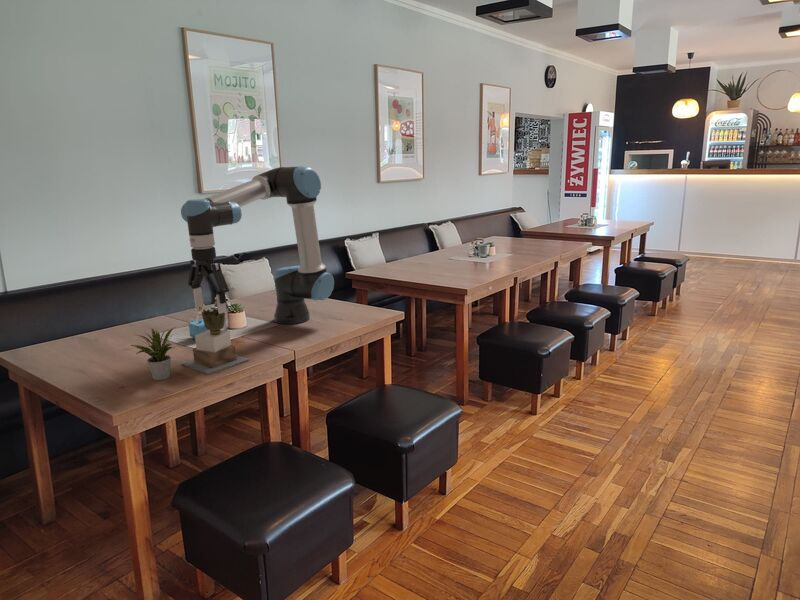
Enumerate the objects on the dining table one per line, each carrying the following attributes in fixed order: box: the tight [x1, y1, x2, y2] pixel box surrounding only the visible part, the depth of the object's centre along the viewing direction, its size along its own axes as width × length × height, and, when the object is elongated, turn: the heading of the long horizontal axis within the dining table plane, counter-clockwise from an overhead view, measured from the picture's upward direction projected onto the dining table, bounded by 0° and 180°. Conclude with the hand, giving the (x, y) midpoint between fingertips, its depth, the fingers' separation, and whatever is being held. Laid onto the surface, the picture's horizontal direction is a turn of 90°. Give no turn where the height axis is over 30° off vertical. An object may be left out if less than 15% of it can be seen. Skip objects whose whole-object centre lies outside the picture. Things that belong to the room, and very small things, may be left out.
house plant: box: [130, 326, 177, 381], centre depth 182 cm, size 14×14×16 cm
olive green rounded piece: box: [201, 308, 226, 335], centre depth 189 cm, size 8×7×8 cm
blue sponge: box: [188, 318, 208, 340], centre depth 221 cm, size 12×6×8 cm, turn 50°
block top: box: [194, 329, 232, 352], centre depth 192 cm, size 8×8×5 cm
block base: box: [192, 344, 237, 368], centre depth 193 cm, size 10×10×5 cm
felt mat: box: [181, 354, 250, 376], centre depth 194 cm, size 16×16×1 cm
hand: (210, 309), depth 190 cm, fingers open, 13 cm apart
